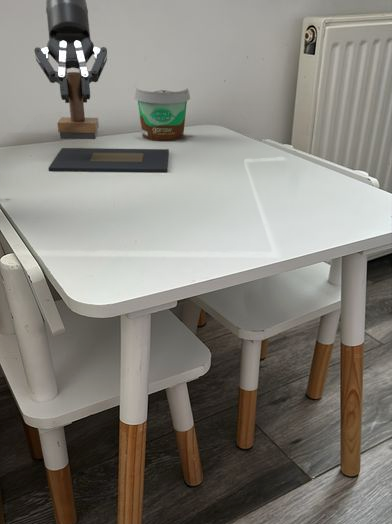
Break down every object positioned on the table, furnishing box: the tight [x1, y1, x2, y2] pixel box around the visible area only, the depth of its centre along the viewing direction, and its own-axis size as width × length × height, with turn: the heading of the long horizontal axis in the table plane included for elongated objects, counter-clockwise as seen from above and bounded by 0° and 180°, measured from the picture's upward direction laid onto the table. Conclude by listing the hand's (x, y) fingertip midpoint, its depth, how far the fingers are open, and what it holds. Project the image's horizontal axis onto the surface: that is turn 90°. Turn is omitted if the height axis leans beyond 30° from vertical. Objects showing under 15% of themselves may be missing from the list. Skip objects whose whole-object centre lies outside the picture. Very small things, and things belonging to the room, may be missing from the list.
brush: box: [57, 71, 100, 140], centre depth 104 cm, size 7×4×11 cm, turn 91°
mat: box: [47, 147, 170, 173], centre depth 109 cm, size 22×14×1 cm, turn 91°
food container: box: [134, 87, 191, 142], centre depth 122 cm, size 12×6×10 cm, turn 104°
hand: (75, 99), depth 101 cm, fingers closed on brush, 2 cm apart
